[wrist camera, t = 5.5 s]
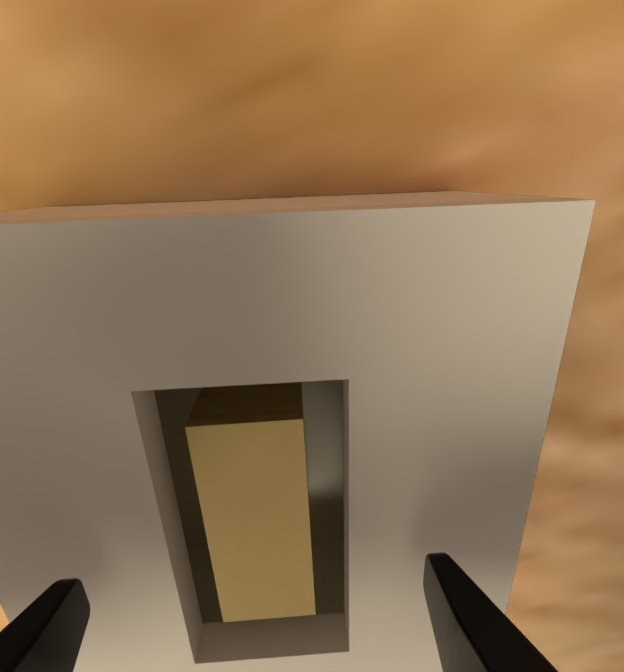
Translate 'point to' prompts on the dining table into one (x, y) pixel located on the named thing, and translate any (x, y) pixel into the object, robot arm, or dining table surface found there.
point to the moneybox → (318, 403)
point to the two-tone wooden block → (255, 498)
